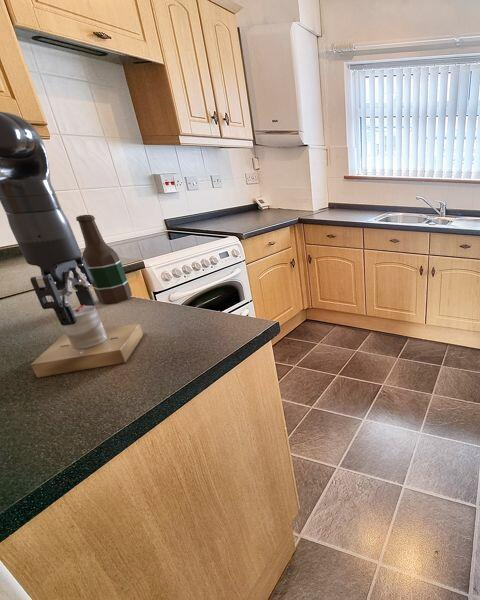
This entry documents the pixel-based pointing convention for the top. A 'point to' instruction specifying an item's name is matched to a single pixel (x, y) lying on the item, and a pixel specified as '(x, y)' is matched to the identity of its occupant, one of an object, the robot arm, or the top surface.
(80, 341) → the white short cylinder
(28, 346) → the top surface
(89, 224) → the beer bottle
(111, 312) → the top surface
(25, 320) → the top surface
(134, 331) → the wooden board
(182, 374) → the top surface
